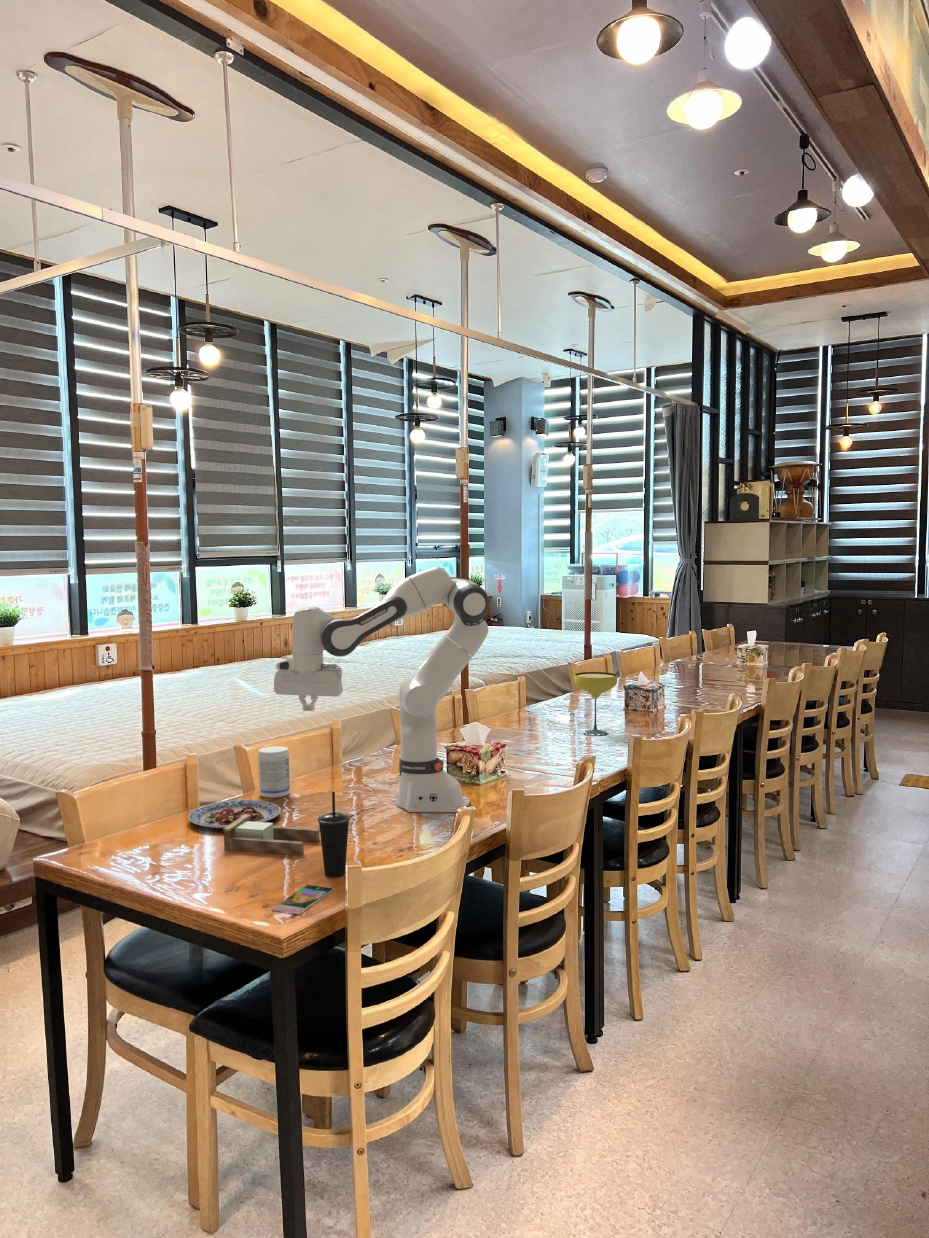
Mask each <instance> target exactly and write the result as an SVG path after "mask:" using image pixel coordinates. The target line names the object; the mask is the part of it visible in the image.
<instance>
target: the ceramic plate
mask: <svg viewBox="0 0 929 1238" xmlns="http://www.w3.org/2000/svg"><path fill="white" fill-rule="evenodd" d="M222 802H223V803H222ZM281 811H282V809H281V807H280V806H279V805H278V804H275V803H274V802H270V801H264V800H255V799H238V800H235V799H234V800H227V801H226V800H225V801H219V802H215V803H209V804H206V805H203V806H201V807H198V808H195V809H194V810H192V812H190V813H189V815H188V820H189V821H190V823H192V824H194V825H197V826H202V827H207V828H216V829H223V828H225V827H226V826H228V825H230V824H231V823H233V822H234V821H236V820H237V819H239V818H241V817H242V816H244V815H245V814H247V815H251V821H252V822H266V823H267V822H268V821H270V820H273V819H274V818H276V817H278V816H279V815H280V813H281Z"/></svg>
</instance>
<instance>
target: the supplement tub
mask: <svg viewBox="0 0 929 1238" xmlns="http://www.w3.org/2000/svg"><path fill="white" fill-rule="evenodd" d="M257 759H258V760H257V761H258V763H257V764H258V788H259V789H258V791H259V792H258V793H259V795H260V797H263V798H266V799H274V798H275V799H276V798H282V797H285V796H287V795H289V794H290V792H291V788H290V787H291V783H290V782H291V781H290V754H289V748H288V747H286V746H279V745H277V746H267V747H261V748H259V749H258V756H257Z"/></svg>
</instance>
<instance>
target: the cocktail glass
mask: <svg viewBox="0 0 929 1238" xmlns="http://www.w3.org/2000/svg"><path fill="white" fill-rule="evenodd" d="M573 676H574V677H573V682H574V684H575V686H577V687H578V688H579V689H581V690H582V691H584V692H586V693H588V694H590V696H591V697H592V699H594V723H593V729H590V730H589V729H586V730H584V731H585V732H587V734H594V735H597V734H600V735H601V734H602V735H603V734H607V735H608V734H609V732H608V733H607V731H605V730H602V729H598V727H597V699H598V698H600V696H601V695H602V694H603V693H605V692H607V691H609V690H611V689H613V688H614V687H615V686H616V685H617V684H618V675H617V674H616V673H612V672H603V671H602V672H601V671H586V672H585V671H584V672H577V673H574V675H573Z"/></svg>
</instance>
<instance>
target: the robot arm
mask: <svg viewBox="0 0 929 1238" xmlns="http://www.w3.org/2000/svg"><path fill="white" fill-rule="evenodd" d="M489 601H490V599H489V596H488V593H487V592H486V591H485V589H484V588H483V587H482V586H480V585H479V584H477V583H476V582H475V581H473V580H469V579H466V578H465V577H457V576H456V577H453V576H452V577H451V576H450V574H449V573H448V572H447V571H446V570H445V569H444V568H442V567H441V566H432V567H430V568H427V569H423V570H421V571H418V572H415V573H414V574H411V575H409V576H408V577H406V578H403V579H402V580H401V581H399V582H397V583H395V585H393V586H392V587H391V588H390V589H388V591H387V593H386V595H385V596H384V597H383V599H382V600H381V601H380V602H379V603H378V604H377V605H375V606H374V607H372V608H369V609H368V610H366V611H364V612H362V613H361V614H359V615H357V616H355V617H353V618H351V619H344V618H342V617H337V616H336V615H335V616H334V615H333V614H330V613H328V612H326V611H325V610H322V609H321V608H320V607H317V606H312V607H310V606H309V607H305V608H302V609H298V610H297V611H296V612H295V613H294V614H293V617H292V620H291V621H292V622H291V640H292V644H293V646H292V647H293V648H292V653H291V657H288V658H287V659H285V660H281V661H279V662H276V665H275V666H276V667H275V668H276V670H277V671H276V672H275V673H274V679H273V691H274V693H275V695H283V696H284V695H285V696H298V700H299V701H300V703H301V706H302V711H304V712H314V711H315V705H316V703H317V702H318V699H319V697H335V698H336V697H339V696H341V695H342V694H343V691H344V690H343V681H342V680H343V679H342V677H343V670H342V668H341V667H340V666H339V665H338V664H336V663H333V664H332V663H331V664H329V663H324V650H325V651H326V653H328V654H330V655H331V656H334V657H345V656H347V655H350V654H351V653H352V652H354V651H355V649H357V648H358V646H359V644H360V643H361V642H362V641H363V640H364V639H365V638H368V637H369V636H370V635H373V634H374V633H376V632H378V631H379V630H381V629H383V628H384V627H387V626H389V625H391V624H392V623H395V622H398V621H402V620H405V619H408V618H410V617H413V616H415V615H419V614H420V613H422V612H425V611H426V610H428V609H429V608H432V607H433V606H436V605H439V604H443V605H444V607H446V609H449V611H450V612H451V613H453V614H454V620H453V623H452V624H451V626H450V628H449V629H448V630H447V631H446V632H445V634H444V635H443V636H442V637H441V638H440V640H439V641H438V642H437V643H436V645H435V646H434V647H433V648H432V649H431V650H430V652H429V653H428V655H427V656H426V658H425V660H424V661H423V662H422V664H421V666H420V667H419V668H418V670H416V673H414V674H413V675H410V676H409V675H408V676H407V677H406V678H404V680H403V681H402V683H401V684H400V686H399V692H398V694H399V695H398V697H399V698H398V699H399V724H400V725H399V726H400V728H399V729H400V757H399V761H398V772H399V777H400V778H399V786H398V787H399V789H398V794H397V798H396V800H395V804H396V806H397V807H399V808H400V809H404V810H406V812H408V813H457V812H456V811H457V809H459V808H460V807H464V806H468V807H469V805H470V804H471V803H470V798H469V797H467V796H463V790H462V786H461V784H460V782H459V781H458V780H457V779H456V778H454V777H453V776H452V775H450V774H449V773H448V772H446V771H445V770H444V761H445V759H441V758H439V757H438V744H437V743H438V734H437V733H438V732H437V731H438V730H437V718H436V708H437V707H438V706H439V704H440V703H441V701H442V700H443V698H444V697H445V696H446V694H447V693H448V691H449V690H450V688H451V687H452V685H453V683H455V680H456V679H457V678H458V676H459V675H460V674H461V672H462V671H463V670H464V669H465V668H466V666H467V665H468V664H469V663H470V662H471V660H472V659H473V657H474V656H475V655H476V654H477V653H478V651H479V649H480V648H481V646H482V645H483V643H484V642H485V640H486V638H487V636H488V634H489V626H488V623H487V622H486V620H485V619H486V616H487V612H488V609H489V606H490V605H489V603H490V602H489ZM307 696H310V700H311V702H310V703H308V702H307V700H306V698H307ZM469 803H470V804H469Z"/></svg>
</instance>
